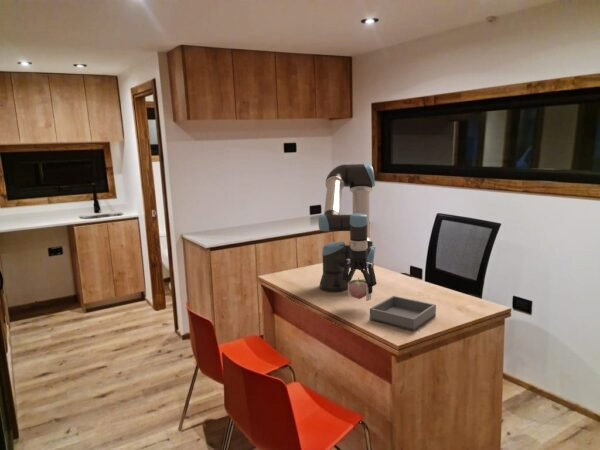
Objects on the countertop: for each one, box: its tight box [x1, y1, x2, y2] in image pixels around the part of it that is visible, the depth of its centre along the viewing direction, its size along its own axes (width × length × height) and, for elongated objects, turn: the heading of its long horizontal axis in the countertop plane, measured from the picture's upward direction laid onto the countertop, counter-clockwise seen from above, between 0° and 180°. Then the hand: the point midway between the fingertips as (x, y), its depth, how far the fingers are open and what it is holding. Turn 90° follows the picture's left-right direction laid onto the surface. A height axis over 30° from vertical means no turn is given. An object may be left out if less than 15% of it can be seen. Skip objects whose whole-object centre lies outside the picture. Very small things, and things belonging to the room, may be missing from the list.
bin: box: [369, 295, 437, 333], centre depth 190 cm, size 20×20×5 cm
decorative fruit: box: [348, 277, 368, 300], centre depth 203 cm, size 9×8×10 cm
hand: (359, 297), depth 203 cm, fingers closed on decorative fruit, 9 cm apart
